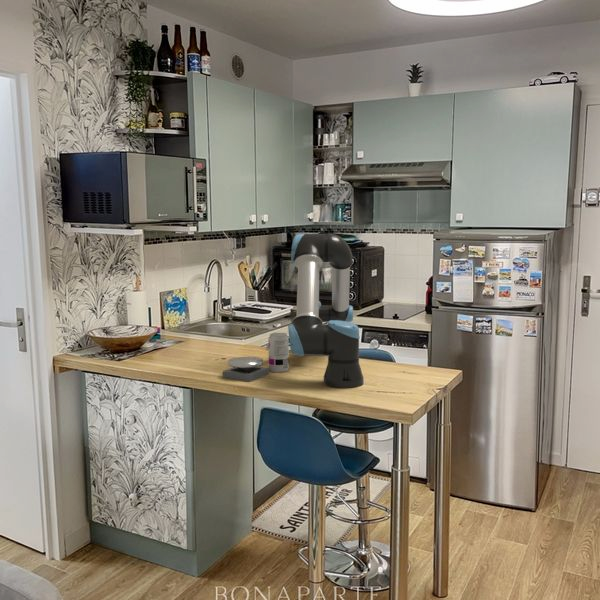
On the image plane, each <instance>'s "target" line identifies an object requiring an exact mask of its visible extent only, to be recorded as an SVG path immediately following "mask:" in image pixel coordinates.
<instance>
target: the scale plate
mask: <svg viewBox="0 0 600 600" xmlns="http://www.w3.org/2000/svg"><path fill="white" fill-rule="evenodd" d="M263 365H264V359H263V358H262V357H257V356H238V357H233V358H230V359H228V360H227V366H229V367H230V368H233V367H236V368H241V371H244V372H243V373H246V372H247V371H251V368H252V367H262V366H263Z"/></svg>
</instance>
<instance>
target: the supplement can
mask: <svg viewBox="0 0 600 600" xmlns="http://www.w3.org/2000/svg"><path fill="white" fill-rule="evenodd" d="M267 339H268V345H269V350H268V368H269V371H270V372H272V373H285V372H287V371H288V370H289V369H290V364H289V363H290V355H289V353H290V352H289V351H290V349H289V347H290V346H289V345H290V343H289V335H288V333H286V332H272V333H269V336H268V338H267ZM284 371H285V372H284Z"/></svg>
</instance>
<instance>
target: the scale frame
mask: <svg viewBox="0 0 600 600" xmlns="http://www.w3.org/2000/svg"><path fill="white" fill-rule="evenodd" d="M269 371H270V370H269V367H265V366H264V367H263V366H258V367H252V368H251V371H247V372H249V373H246V372H244V371H241V368H236V367H230V368H227V369H225V370H223V371H222V379H230V380H235V381H240V382H241V381H242V382H249V383H250V382H254V381H255V380H258V379H261V378H263V377H266V376H268V375H269V374H270V372H269ZM260 377H261V378H260ZM253 380H254V381H253Z"/></svg>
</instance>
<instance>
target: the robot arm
mask: <svg viewBox="0 0 600 600" xmlns="http://www.w3.org/2000/svg"><path fill="white" fill-rule="evenodd" d="M290 257H291V258H290V260H291V262H292V263H294V265H295V268H297V284H296V285H297V288H296V291H297V293H296V316H295V317H294V318H293V319H292V322H291V324H288V325H287V327H288V329H287V330H288V337H289V347H290V349H289V350H290V353H291V354H292V355H294V356H302V357H306V356H307V357H309V356H319V357H320V356H323V357H324V356H325V357H326V356H327V359H328V360H327V365H326V367H325V371H324V375H323V384H324V385H326V386H327V387H332V388H339V389H341V388H342V389H343V388H344V389H346V388H356V387H360V386H362V385H364V381H365V379H364V375H363V373H362V368H361V365H360V337H361V336H360V329H359V326H358V325H357V324H356V323H353V320H354V306H353V305H350V284H351V282H350V280H351V279H350V278H351V267H352V266H353V259H354V258H353V253H352V250H351V247H350V246H349V244H348V243H347V241H346V240H345V239H343V238H342V237H341V236H339V235H337V234H335V233H299V234H298V233H297V234H295V235H294V237H293V239H292V244H291V253H290ZM324 263H329V264H330V267H331V305H325V304H322V303H321V301H320V269H321V268H323V266H324ZM323 323H327V324H323ZM265 349H266V351H269V345H268V343H266V348H265Z"/></svg>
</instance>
